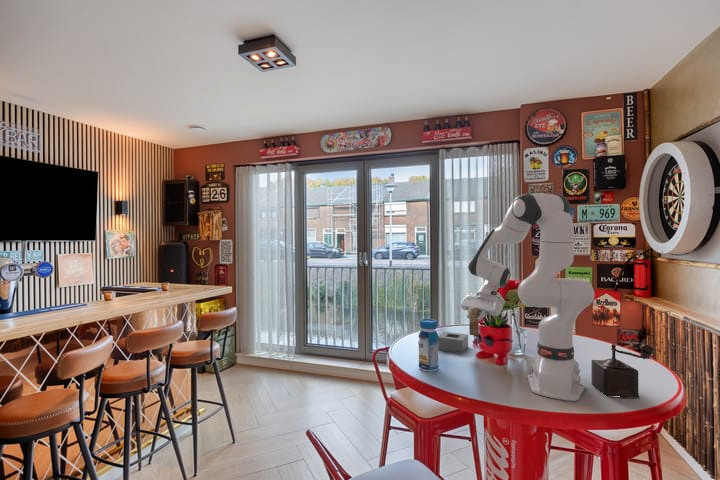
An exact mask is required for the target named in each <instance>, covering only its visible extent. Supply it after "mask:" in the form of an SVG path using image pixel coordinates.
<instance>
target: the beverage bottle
mask: <svg viewBox="0 0 720 480" xmlns="http://www.w3.org/2000/svg"><path fill="white" fill-rule="evenodd" d="M419 322H420V323H419V325H420V326H419V327H420V329H421V330H420V331H419V333H418V339H419V340H418V341H417V342H418V368H419V369H420V370H421V371H424V372H429V373H430V372H436V371H437V370H439V369H440V368H439V367H440V366H439V350H438V346H439V342H438V338H439V337H438V336H439V333H438V331H437V328H438V327H437V325H438V323H437V320H436V319H433V318H422V319H420V321H419Z"/></svg>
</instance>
